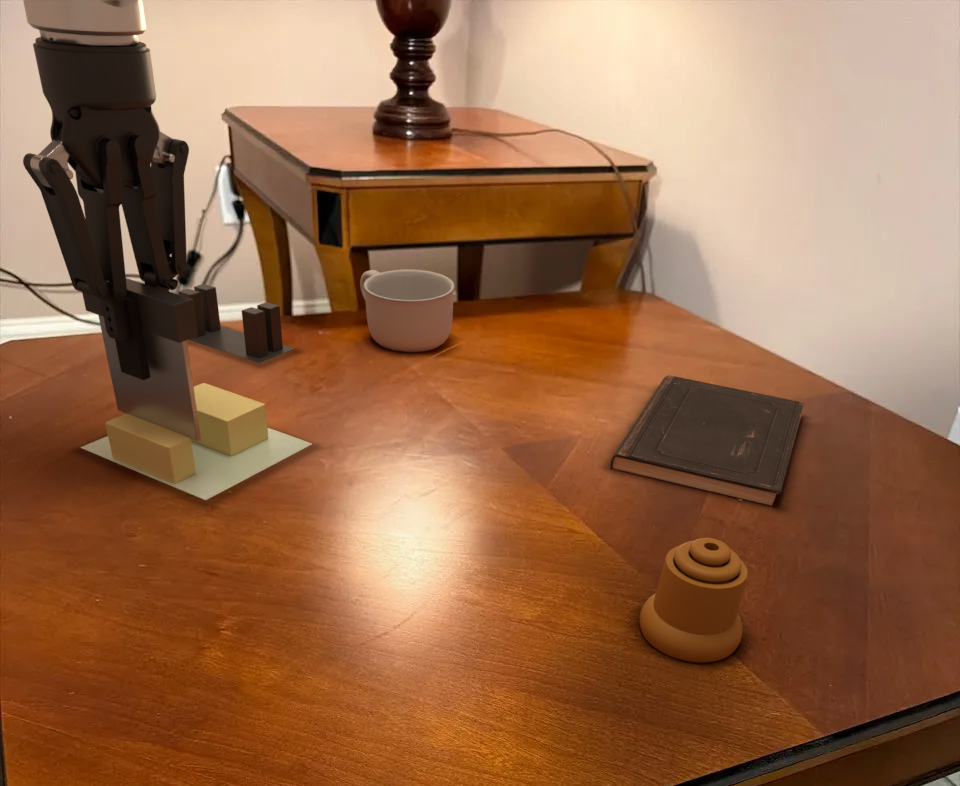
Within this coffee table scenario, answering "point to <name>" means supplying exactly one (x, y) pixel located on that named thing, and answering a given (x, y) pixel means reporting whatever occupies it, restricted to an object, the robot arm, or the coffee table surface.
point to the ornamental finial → (696, 602)
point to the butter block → (229, 420)
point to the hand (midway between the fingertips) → (148, 369)
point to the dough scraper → (157, 360)
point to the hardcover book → (713, 439)
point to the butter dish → (220, 463)
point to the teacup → (408, 308)
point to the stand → (252, 344)
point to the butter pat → (151, 448)
